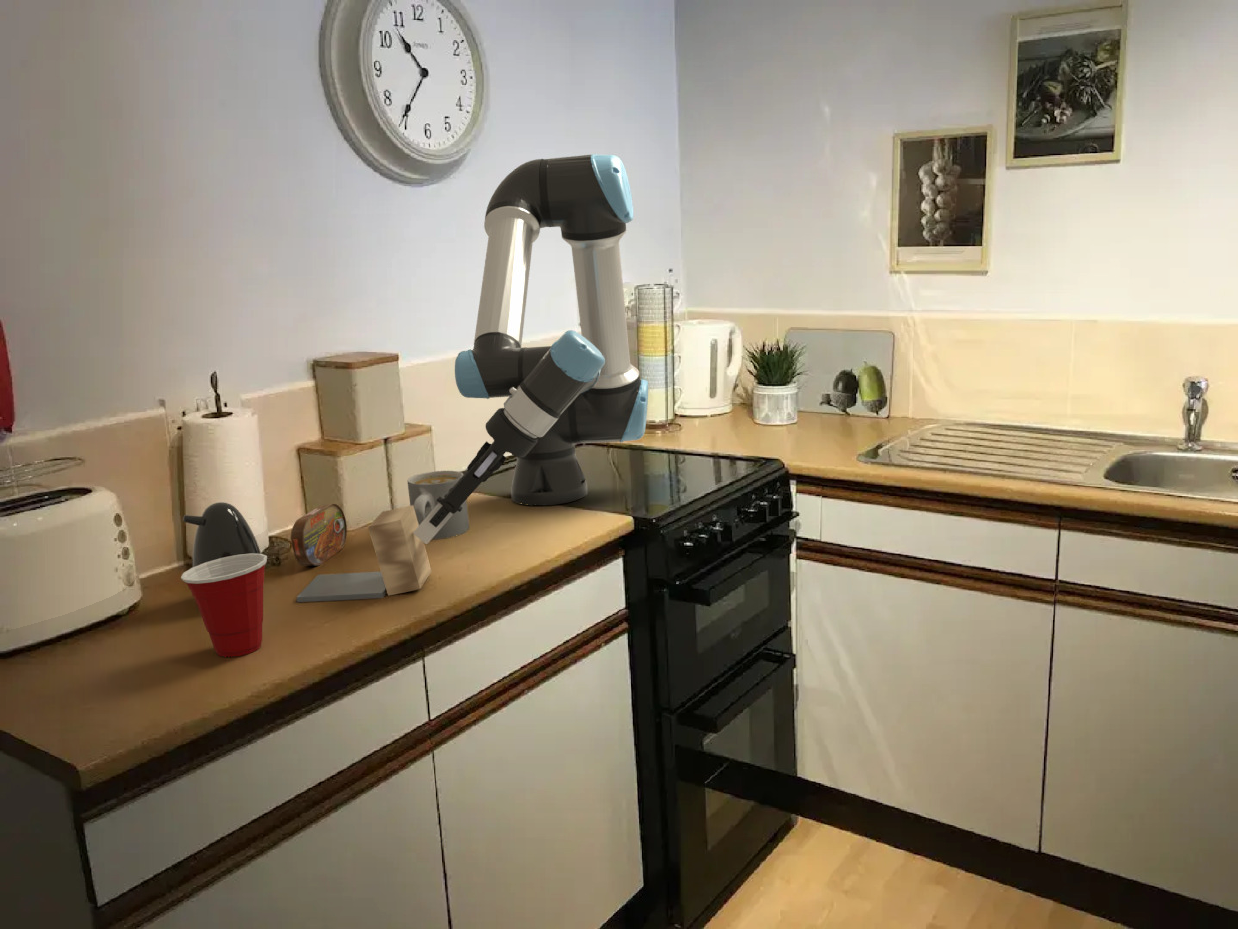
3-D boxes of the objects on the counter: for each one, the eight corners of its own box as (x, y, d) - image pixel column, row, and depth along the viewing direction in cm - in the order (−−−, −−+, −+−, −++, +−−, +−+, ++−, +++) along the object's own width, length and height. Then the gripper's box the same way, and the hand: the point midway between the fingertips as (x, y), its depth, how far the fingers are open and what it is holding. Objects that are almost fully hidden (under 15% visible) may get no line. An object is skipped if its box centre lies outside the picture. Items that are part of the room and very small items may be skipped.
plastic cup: (230, 630, 144) (217, 549, 142) (296, 635, 141) (284, 551, 138) (176, 662, 134) (160, 575, 132) (245, 668, 131) (231, 579, 128)
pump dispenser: (187, 600, 158) (170, 505, 155) (253, 582, 164) (239, 490, 161) (210, 616, 150) (193, 516, 147) (278, 597, 157) (264, 500, 153)
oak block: (431, 571, 161) (413, 505, 159) (420, 589, 154) (400, 519, 151) (401, 577, 162) (382, 511, 160) (388, 595, 154) (368, 526, 152)
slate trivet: (399, 575, 163) (398, 570, 163) (382, 598, 153) (382, 592, 153) (318, 579, 164) (318, 574, 163) (297, 602, 154) (296, 597, 154)
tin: (309, 572, 168) (302, 523, 166) (292, 572, 168) (284, 523, 166) (351, 544, 182) (344, 498, 180) (334, 544, 182) (328, 498, 181)
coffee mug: (435, 521, 192) (429, 469, 190) (479, 524, 188) (474, 471, 186) (390, 543, 181) (383, 487, 178) (436, 547, 176) (430, 490, 174)
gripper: (506, 398, 157) (411, 509, 162) (494, 414, 144) (390, 534, 149) (544, 430, 158) (448, 540, 163) (535, 448, 145) (431, 567, 150)
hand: (420, 537), depth 156 cm, fingers closed
